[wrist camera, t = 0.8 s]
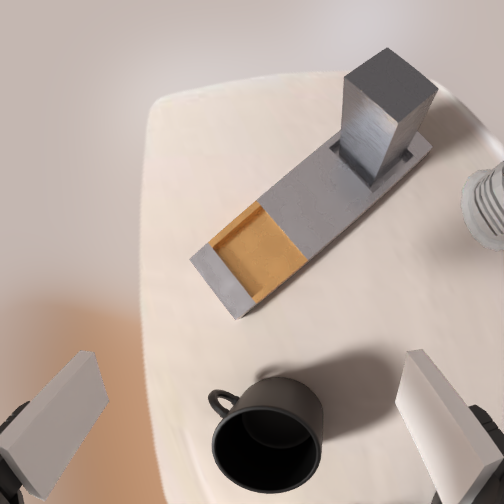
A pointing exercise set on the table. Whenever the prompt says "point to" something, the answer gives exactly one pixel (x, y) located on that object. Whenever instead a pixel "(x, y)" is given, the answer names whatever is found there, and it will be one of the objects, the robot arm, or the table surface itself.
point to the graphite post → (382, 113)
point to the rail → (293, 224)
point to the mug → (268, 435)
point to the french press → (485, 207)
